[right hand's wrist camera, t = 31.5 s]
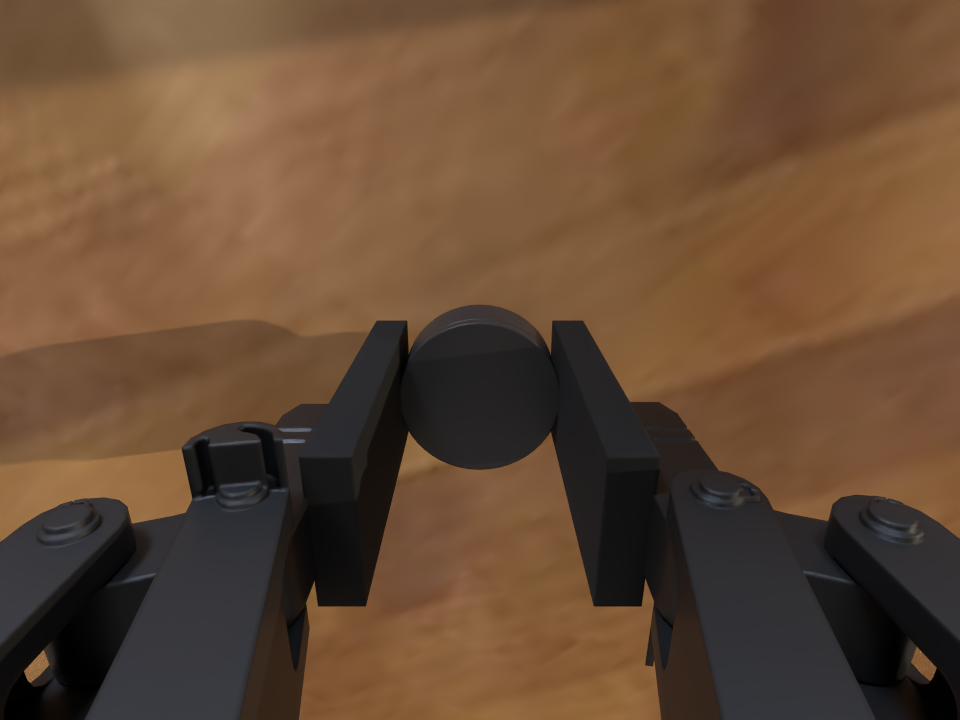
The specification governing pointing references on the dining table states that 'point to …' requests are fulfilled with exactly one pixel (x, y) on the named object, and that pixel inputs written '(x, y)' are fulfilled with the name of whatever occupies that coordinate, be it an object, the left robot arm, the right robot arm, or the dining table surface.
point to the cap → (479, 388)
